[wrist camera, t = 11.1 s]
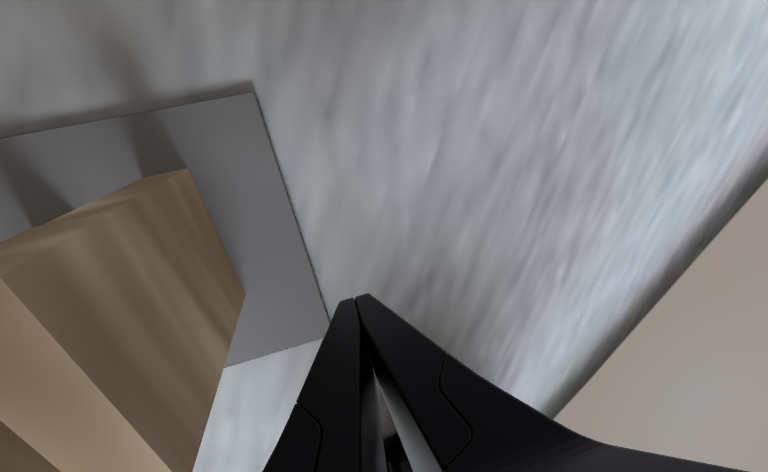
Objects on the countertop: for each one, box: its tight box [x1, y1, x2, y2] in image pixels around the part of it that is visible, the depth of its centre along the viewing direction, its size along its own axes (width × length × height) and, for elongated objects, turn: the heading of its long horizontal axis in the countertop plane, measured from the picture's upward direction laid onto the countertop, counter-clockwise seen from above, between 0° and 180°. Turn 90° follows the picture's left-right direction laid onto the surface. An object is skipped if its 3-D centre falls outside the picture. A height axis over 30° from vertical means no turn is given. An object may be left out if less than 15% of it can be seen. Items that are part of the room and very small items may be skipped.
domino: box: [0, 168, 246, 472], centre depth 9 cm, size 2×6×8 cm, turn 10°
